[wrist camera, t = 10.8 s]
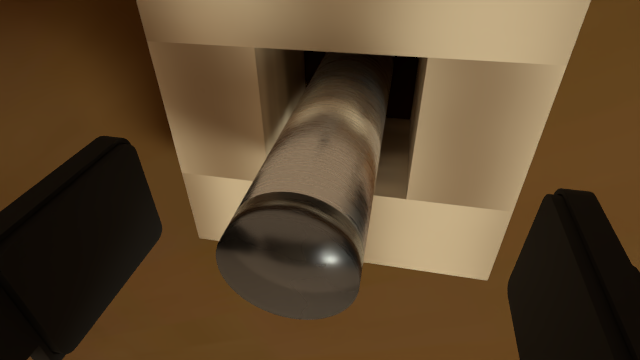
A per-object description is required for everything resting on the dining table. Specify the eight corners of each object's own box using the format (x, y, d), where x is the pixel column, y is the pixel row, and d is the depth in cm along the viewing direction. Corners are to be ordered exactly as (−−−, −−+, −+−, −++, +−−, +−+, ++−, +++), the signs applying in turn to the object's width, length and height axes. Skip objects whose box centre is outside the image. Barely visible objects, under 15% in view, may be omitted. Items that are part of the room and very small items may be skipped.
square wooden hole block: (552, -105, 13) (627, -100, 8) (472, 187, 20) (487, 280, 15) (208, -102, 15) (110, -97, 10) (246, 162, 22) (199, 237, 17)
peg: (397, 31, 16) (364, 229, 7) (390, 98, 18) (356, 329, 9) (325, 27, 17) (203, 208, 7) (325, 93, 19) (227, 306, 9)
